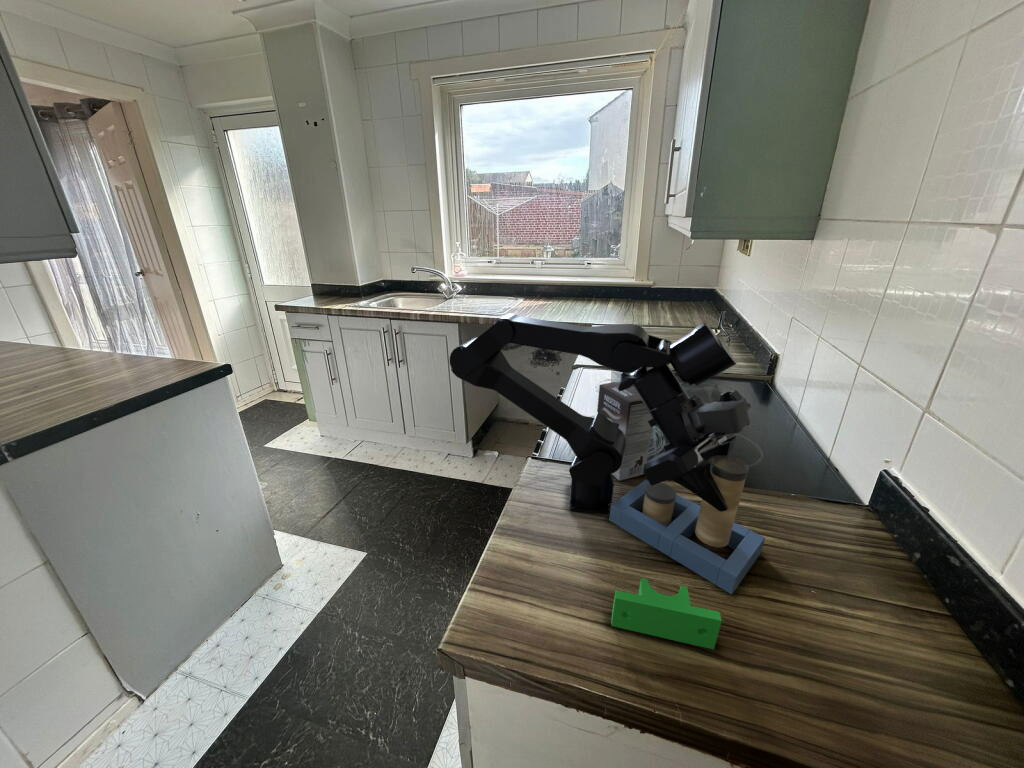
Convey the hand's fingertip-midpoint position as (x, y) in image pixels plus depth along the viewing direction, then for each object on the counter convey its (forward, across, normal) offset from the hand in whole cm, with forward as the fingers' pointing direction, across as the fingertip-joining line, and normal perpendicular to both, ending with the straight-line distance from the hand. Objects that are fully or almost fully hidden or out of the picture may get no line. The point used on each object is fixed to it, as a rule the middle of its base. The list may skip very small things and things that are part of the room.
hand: (731, 502), depth 54 cm
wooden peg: (+4, 0, +6) cm, 7 cm away
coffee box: (-9, +10, +23) cm, 27 cm away
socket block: (+3, 0, +11) cm, 11 cm away
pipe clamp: (+7, -16, +7) cm, 18 cm away
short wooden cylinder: (0, 0, +14) cm, 14 cm away
